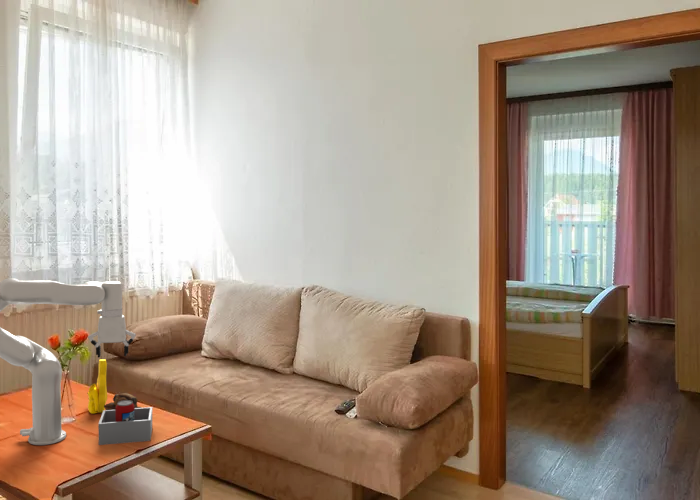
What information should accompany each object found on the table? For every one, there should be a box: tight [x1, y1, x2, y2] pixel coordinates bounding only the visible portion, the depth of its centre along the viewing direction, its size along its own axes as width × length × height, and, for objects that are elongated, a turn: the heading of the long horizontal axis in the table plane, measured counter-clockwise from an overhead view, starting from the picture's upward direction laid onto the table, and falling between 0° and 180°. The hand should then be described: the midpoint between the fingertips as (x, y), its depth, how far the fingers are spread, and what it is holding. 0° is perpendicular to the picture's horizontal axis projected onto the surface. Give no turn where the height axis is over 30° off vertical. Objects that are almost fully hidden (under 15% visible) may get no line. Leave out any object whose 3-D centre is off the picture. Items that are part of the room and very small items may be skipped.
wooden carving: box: [104, 392, 143, 410], centre depth 241 cm, size 16×5×10 cm, turn 81°
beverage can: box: [115, 400, 135, 422], centre depth 223 cm, size 7×7×12 cm
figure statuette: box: [86, 358, 108, 414], centre depth 247 cm, size 18×8×22 cm, turn 33°
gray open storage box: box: [97, 406, 153, 446], centre depth 224 cm, size 18×14×8 cm
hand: (112, 356), depth 230 cm, fingers open, 9 cm apart
